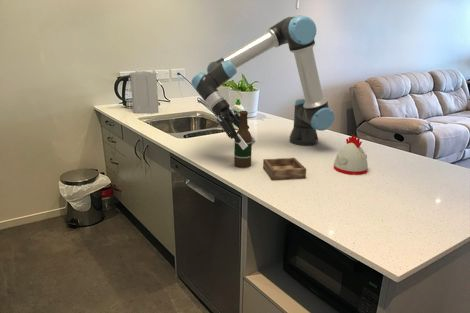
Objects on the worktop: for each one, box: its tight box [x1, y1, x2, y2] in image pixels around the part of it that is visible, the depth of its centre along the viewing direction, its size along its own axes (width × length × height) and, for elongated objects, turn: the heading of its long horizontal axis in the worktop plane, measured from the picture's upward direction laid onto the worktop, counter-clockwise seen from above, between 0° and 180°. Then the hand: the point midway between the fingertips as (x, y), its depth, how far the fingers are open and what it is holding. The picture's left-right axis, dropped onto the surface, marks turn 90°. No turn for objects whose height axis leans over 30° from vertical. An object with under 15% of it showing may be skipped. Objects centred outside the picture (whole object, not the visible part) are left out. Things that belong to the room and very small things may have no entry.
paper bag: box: [129, 70, 160, 115], centre depth 260 cm, size 19×15×28 cm
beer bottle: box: [233, 110, 253, 169], centre depth 155 cm, size 8×8×24 cm
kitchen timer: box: [333, 134, 369, 176], centre depth 154 cm, size 14×14×15 cm
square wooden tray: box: [262, 157, 307, 181], centre depth 150 cm, size 14×14×4 cm
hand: (250, 145), depth 155 cm, fingers closed on beer bottle, 8 cm apart
